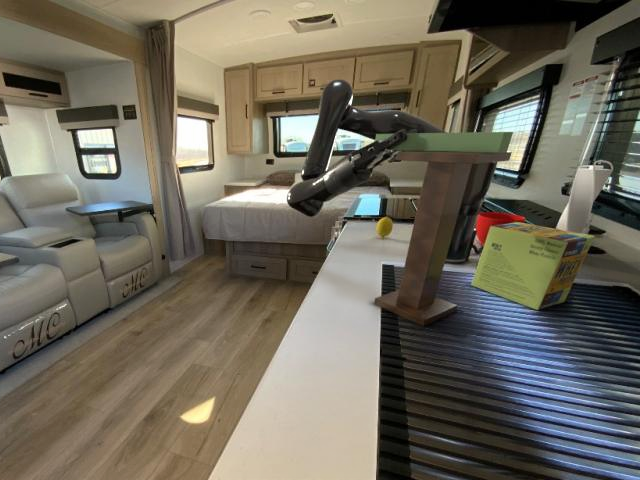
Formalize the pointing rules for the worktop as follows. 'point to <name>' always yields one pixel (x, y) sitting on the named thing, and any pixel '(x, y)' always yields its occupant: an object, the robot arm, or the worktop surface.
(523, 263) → the protein box
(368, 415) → the worktop surface
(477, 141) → the sage bar
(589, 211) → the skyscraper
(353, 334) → the worktop surface
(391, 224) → the lemon
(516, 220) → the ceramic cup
